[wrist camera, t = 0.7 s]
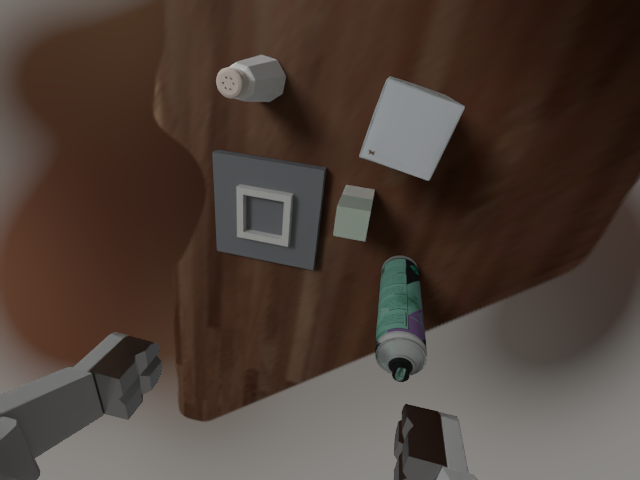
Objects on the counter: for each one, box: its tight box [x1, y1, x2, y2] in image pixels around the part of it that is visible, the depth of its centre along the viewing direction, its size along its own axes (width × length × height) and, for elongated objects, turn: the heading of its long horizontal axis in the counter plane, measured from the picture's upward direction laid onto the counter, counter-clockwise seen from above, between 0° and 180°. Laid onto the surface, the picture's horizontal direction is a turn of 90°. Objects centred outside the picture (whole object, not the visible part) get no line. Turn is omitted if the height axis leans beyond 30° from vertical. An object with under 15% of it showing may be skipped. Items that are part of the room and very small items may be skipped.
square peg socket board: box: [212, 150, 327, 270], centre depth 50 cm, size 16×16×3 cm
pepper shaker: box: [216, 55, 286, 102], centre depth 38 cm, size 5×5×11 cm
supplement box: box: [359, 76, 465, 181], centre depth 36 cm, size 7×7×13 cm
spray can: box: [375, 256, 427, 382], centre depth 43 cm, size 6×6×20 cm
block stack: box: [333, 185, 375, 241], centre depth 44 cm, size 4×4×8 cm
